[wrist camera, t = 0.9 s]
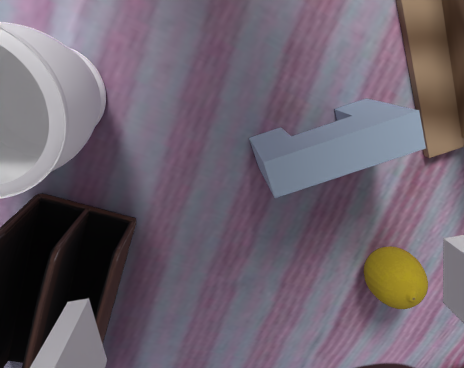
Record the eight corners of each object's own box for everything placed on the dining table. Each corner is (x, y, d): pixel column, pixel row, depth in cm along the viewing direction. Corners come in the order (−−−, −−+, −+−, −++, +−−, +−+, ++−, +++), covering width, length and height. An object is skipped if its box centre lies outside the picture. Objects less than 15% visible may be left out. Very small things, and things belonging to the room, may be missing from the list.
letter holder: (6, 352, 45) (-78, 477, 31) (39, 190, 40) (-47, 257, 26) (96, 370, 46) (51, 497, 33) (138, 216, 41) (106, 292, 28)
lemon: (343, 267, 44) (372, 310, 37) (372, 226, 43) (408, 262, 35) (383, 287, 45) (419, 333, 38) (412, 248, 44) (455, 287, 36)
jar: (141, 94, 37) (103, 115, 23) (69, 170, 39) (-8, 233, 25) (49, 5, 35) (-60, -35, 20) (-24, 90, 36) (-172, 110, 22)
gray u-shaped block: (258, 165, 40) (274, 198, 31) (249, 137, 39) (263, 162, 30) (372, 127, 40) (425, 148, 30) (366, 98, 39) (419, 110, 29)
